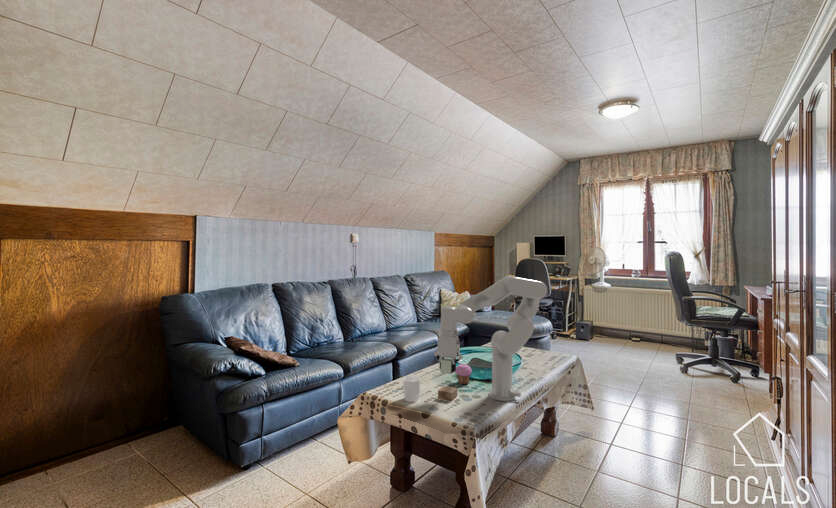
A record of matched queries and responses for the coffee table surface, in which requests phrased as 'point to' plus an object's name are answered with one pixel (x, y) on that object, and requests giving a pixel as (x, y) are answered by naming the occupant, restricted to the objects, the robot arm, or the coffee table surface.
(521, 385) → the coffee table surface
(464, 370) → the cupcake
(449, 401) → the mat
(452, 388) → the walnut base block
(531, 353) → the coffee table surface
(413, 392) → the white cup
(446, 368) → the sage cube
